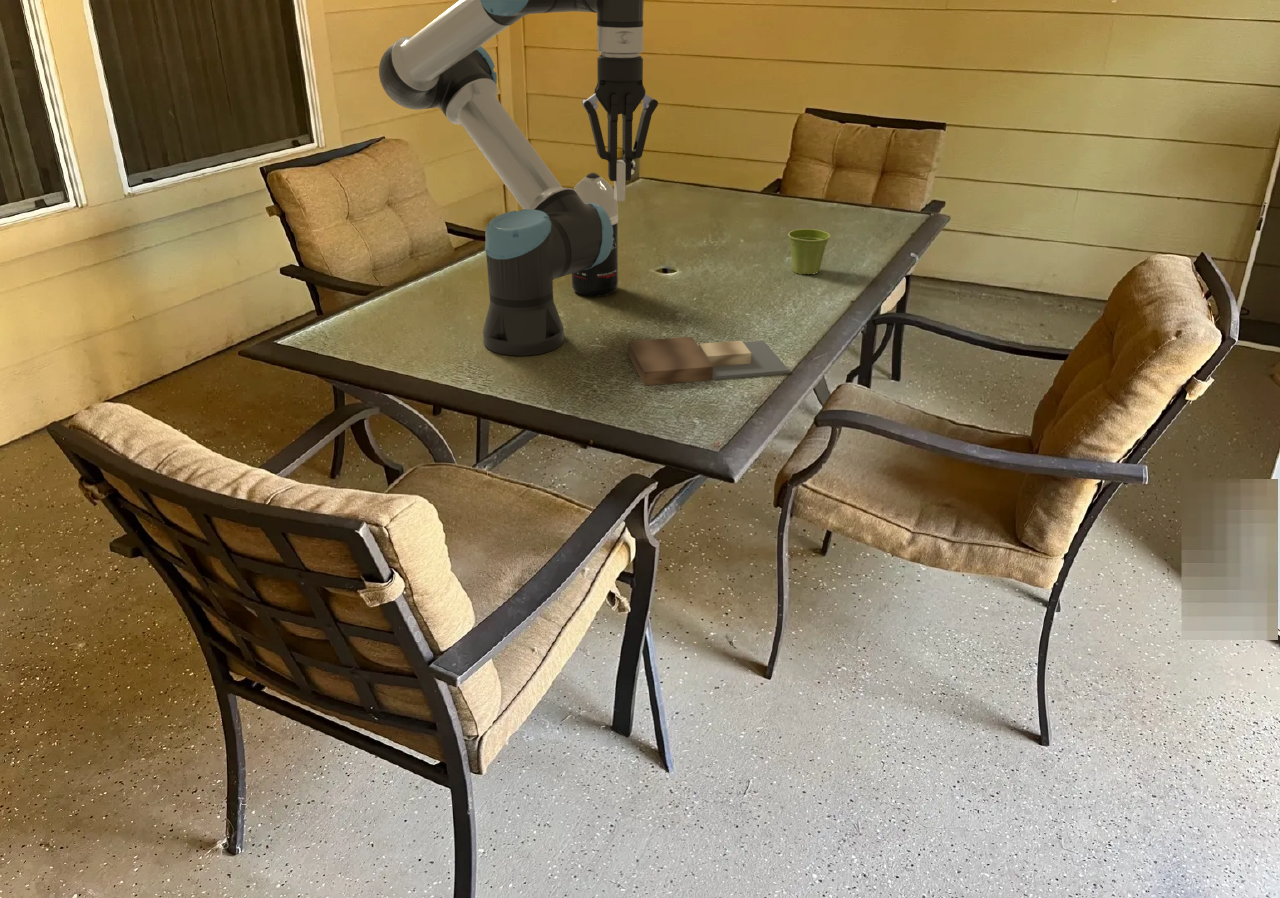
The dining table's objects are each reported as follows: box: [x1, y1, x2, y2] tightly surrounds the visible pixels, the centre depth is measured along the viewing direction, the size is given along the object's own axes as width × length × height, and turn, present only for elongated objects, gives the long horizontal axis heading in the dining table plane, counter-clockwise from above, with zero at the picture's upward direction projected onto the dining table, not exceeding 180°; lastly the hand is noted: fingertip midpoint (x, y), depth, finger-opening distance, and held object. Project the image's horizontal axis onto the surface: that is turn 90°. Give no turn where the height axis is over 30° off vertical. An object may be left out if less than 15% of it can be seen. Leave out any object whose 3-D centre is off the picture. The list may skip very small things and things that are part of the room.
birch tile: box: [698, 340, 751, 366], centre depth 163 cm, size 8×6×2 cm
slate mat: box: [711, 340, 790, 381], centre depth 164 cm, size 14×14×1 cm
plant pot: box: [787, 228, 831, 275], centre depth 208 cm, size 9×9×9 cm
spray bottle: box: [571, 172, 619, 297], centre depth 191 cm, size 10×10×25 cm
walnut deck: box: [627, 336, 713, 386], centre depth 161 cm, size 12×14×2 cm
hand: (619, 199), depth 161 cm, fingers closed
